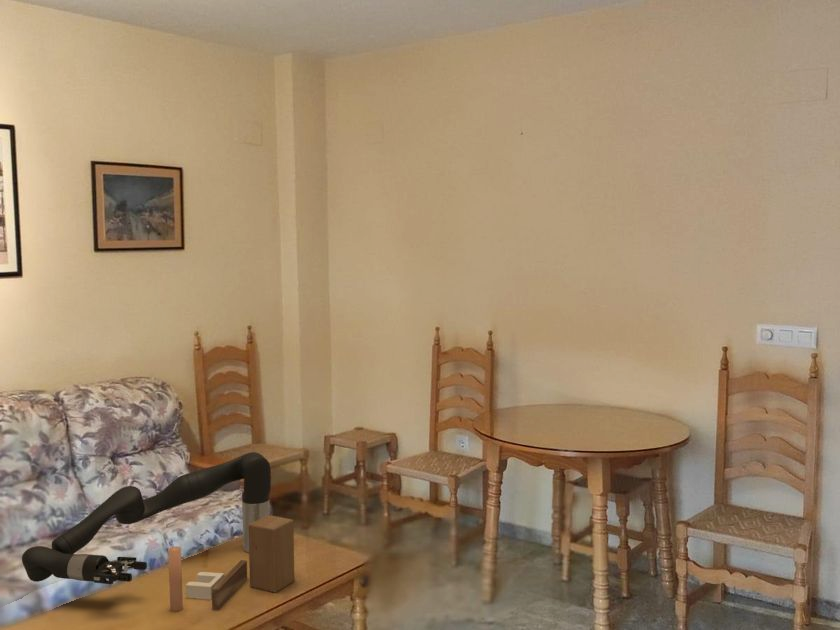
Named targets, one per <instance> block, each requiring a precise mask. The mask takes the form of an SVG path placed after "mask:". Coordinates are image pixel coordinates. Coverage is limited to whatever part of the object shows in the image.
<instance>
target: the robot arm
mask: <svg viewBox="0 0 840 630" xmlns="http://www.w3.org/2000/svg"><path fill="white" fill-rule="evenodd" d="M271 477H272V471H271V465H270V462H269V460H268V459H267V458H266V457H265V456H263V455H262V454H261V453H259V452H252V451H251V452H247V453H245V454H242V455H240V456H237V457H236V458H234V459H231V460H229V461H226V462H223V463H221V464H217V465H215V464H214V465H212V466H209V467H205V468H202V469H198V470H195V471H192V472H189V473H185V474H183V475H180V476H178V477H176V479H174V480H172V481H171V482H170V483H169V485H167V486H166V487H164V488H163V490H161V491H160V492H158V493H157V494H155V495H153V496H150V497H146V498H145V499H143V495H142V492H141V490H140V488H138V487H137V486H134V485H128V486H123V487H120V489H117V490H116V491H115V492H114V493H112V494H111V495H110V496H109V497H108V498H107V499H106V500H104V501H103V502H102V503H101V504H100V505H99V506H98V507H96V509H93V511H92V512H90V513H89V514H88V515H87V516H86V517H85V518H84V519H82V520H81V521H80V522H78V523H76V525H74V526H72V527H71V528H69V529H67V530H66V531H64V532H63V533H62V534H60V535H59V536H56V537H55V538H54V539H53V540H52V542H51V548H50V547H48V546H43V545H42V546H41V545H37V546H36V545H35V546H32V547H30V548H27V549H26V550H25V551H24V552H23V554H22V555H21V563H22V565H23V567H24V569H25V572H26V575H27V577H28V579H29V580H30V581H31V582H38V583H39V582H42V581H45V580H47V579H48V578H50V577H51V576H52V575H53V577H55V578H58V579H64V580H65V579H66V580H67V579H68V580H75V581H82V582H93V583H95V584H103V585H113V584H114V583H117V582H129V583H130V582H131V581H132V580H133V574H132V573H129V570H136V571H137V570H138V571H146V570H147V569H148V563H147V561H137V557H135V556H134V557H133V556H118V557H116V559H115V560H109V559H108V557H107V556H106V555H104V554H103V555H99V554H90V553H89V554H87V553H79V554H78V553H77V552H79V551H80V550H81V549H83V548H84V547H86V546H87V545H88V544H89V543H90V542H91V541H92V540H93V539H94V537H95V536H96V535H97V534H98V533H99V531H100V530H101V528H102V527H103V526H104V525H105V524H106V523H107V521H108V520H110V519H111V518H112V517H115V519H116V521H117V522H118V523H120V524H121V525H132V524H136V523H138V522H140V521H143V520H147V518H150V517H152V516H155V515H157V514H160V513H161V512H165V511H167V510H169V509H172V508H176V507H178V506H181V505H184V504H187V503H191V502H193V501H194V502H195V501H197V500H200V499H203V498H206V497H209V496H210V495H212V494H213V493H215V492H216V491H218V490H219V489H221V488H223V487H224V486H227V485H228V484H230V483H233V482H236V481H240V480H243V492H242V494H241V507H242V508H241V510H242V515H241V516H242V549H243V551H244V552H246V553H249V524H251V523H253V522H255V521H257V520H259V519H261V518H263V517H265V516H267V515H270V493H271V490H272V489H271V488H272V487H271V486H272V481H271V480H272V478H271ZM76 553H77V554H76Z"/></svg>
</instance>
